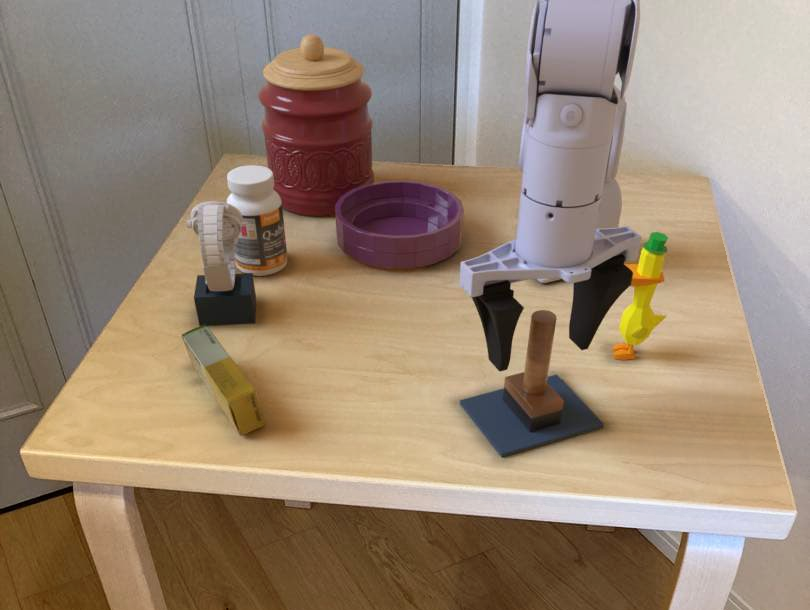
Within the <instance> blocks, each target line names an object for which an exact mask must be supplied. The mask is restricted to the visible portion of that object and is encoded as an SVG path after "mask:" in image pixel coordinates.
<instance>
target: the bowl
mask: <svg viewBox="0 0 810 610" xmlns="http://www.w3.org/2000/svg"><path fill="white" fill-rule="evenodd" d="M464 215H465V209H464V206H463V202H462V200H461V198H459V197H458V196H456V194H455V193H454V192H452V191H450V190H448V189H445V188H444V187H442V186H439V185H436V184H432V183H427V182H424V181H416V180H405V179H397V180H382V181H376V182H375V181H374V183H370V184H365V185H363V186H360V187H357V188H355V189H352V190H350V191H349V192H347V193H346V194H344V195H343V196H341V197H340V199H339V200H338V202H337V203H336V205H335V216H334V217H335V229H336V230H335V231H336V232H335V233H336V243H337V246H338V248H339V249H340V250H341V251H342V253H343V254H344V255H346V256H348V257H350V258H351V259H353V260H354V261H356V262H359V263H362V264H365V265H368V266H371V267H372V266H373V267H376V268H384V269H385V268H386V269H394V270H395V269H413V268H414V269H416V268H420V267H425V266H431V265H434V264H437V263H439V262H442V261H443V260H446V259H448V258H450V257H451V256H452V255H453V254H455V253H456V252H457V251H458V250H459V249H460V247H461V243H462V241H463V236H464V235H463V232H464V217H465V216H464Z"/></svg>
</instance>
